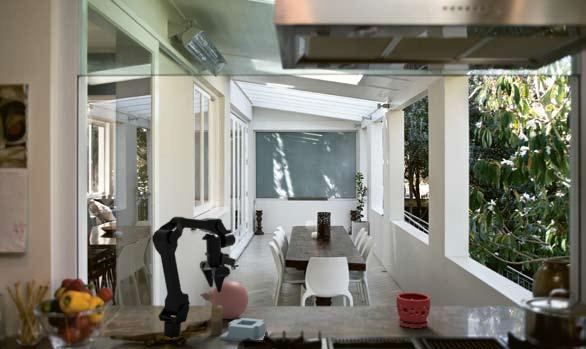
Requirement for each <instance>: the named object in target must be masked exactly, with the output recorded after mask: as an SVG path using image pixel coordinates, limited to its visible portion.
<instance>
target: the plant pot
mask: <svg viewBox="0 0 586 349" xmlns="http://www.w3.org/2000/svg"><path fill="white" fill-rule="evenodd" d="M395 302H396V310H397V314H398V317H399V318H398V319H397V322H398V324H399V325H400V326H402V327H404V326H405V327H404V328H407V327H410V328H409V329H414V328H419V329H423V328H422V327H424V328H426V327H427V326H428V325H429V322H428V320H427V319H428V317H429V314H430V311H431V297H430V296H429V295H428V294H423V293H419V292H418V293H417V292H401V293H399V294H396V300H395Z"/></svg>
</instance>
